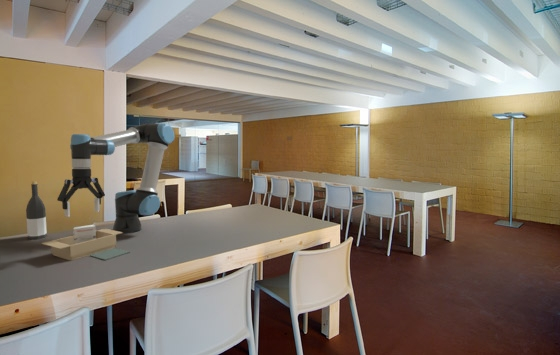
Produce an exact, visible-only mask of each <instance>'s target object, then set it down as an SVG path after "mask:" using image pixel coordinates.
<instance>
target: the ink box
mask: <svg viewBox="0 0 560 355" xmlns="http://www.w3.org/2000/svg"><path fill="white" fill-rule="evenodd" d="M96 230H97V229H96V225H95V224H89V225H81V226H73V227H72V231H73V232H72V233H73V235H72V236H74V244H78V243H81V242H85V241H89V240H93V239H96Z"/></svg>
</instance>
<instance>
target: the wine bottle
mask: <svg viewBox="0 0 560 355" xmlns="http://www.w3.org/2000/svg"><path fill="white" fill-rule="evenodd" d="M30 187H31V197H30V198H29V200H28V202H27V204H26V209H25V213H26V214H25V215H26V217H25V218H26V231H27V238H28V239H29V240H40V239H44V238H46V237H47V214H46V206H45V203H44V201H43V200H42V199H41V197H40V196H39V192H38V191H39V190H38V188H39V187H38V181H36V180H35V181H34V180H33V181H31V186H30Z"/></svg>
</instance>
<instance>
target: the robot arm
mask: <svg viewBox="0 0 560 355" xmlns="http://www.w3.org/2000/svg"><path fill="white" fill-rule="evenodd" d="M70 136H71V137H70V144H69V147H70V148H69V149H70V150H71V151H70V152H71V153H70V154H71V168H72V169H71V177H72V179H67V178H66V179H64V184H63V187H62V188H61V190H60V193H59V195H58V196H57V200H56V201H58V202H62V204H61V206H62V210H64V217H67V218H70V217H71V213H70V212H71V207H70V206H71V204H70V203H71V202H70V201H69V200H70V199H71V198H72V196H73V195H74V194H75V193H76V192H77V190H78V191H79V189H80V190H81V189H87V190H89V191H90V193H92V195H93V196H94V199H93V200H94V201H93V202H94V213H95V212H96V213H99V212H100V207H101V206H100V205H102V198H103V197H105V196H106V195H105V192H104V190H103V188H102V187H101V185H100V182H99V178H98V177H92V169H91V167H92V158H91V157H92V156H111V155H112V154H114V152H116V151H115V149H116V147H120V146H123V145H129V144H142V143H143V144H147V146H148V150H147V154H146V158H145V162H144V163H145V164H144V167H143V172H142V177H141V180H140V185H139V187H138V188H136V190H134V189H133V190H125V191H117V192H116V193H115V194H114V196H115V198H114V204H115V220H114V224H113V226H112V230H114V231H119V232H123V233H122V234H130V233H135V232H138V231H139V232H140V231H141V230H142V229H143V228H142V223H141V220H140V217H139V215H141V216H152V215H154V214H155V213H157V212H158V210H160V209H159V208H160V206H161V200H160V197H159V196H158V194H159V193H158V191H157V186H158V181H159V177H160V171H161V167H162V164H163V163H162V162H163V158H164V154H165V151H166V150H167V149H168V148H169V144H172V143H173V141H175V131H174V129H173V127H172V126H171V125H170V124H169V123H163V122H160V123H155V122H154V123H143V124H139V125H136V126H131V127H129V128H128V129H126V130H121V131H118V132H117V131H116V132H113V133H112V132H111V133H107V134H103V135H96V136H91V135H90V134H85V133H72V134H71V135H70ZM91 183H92V184H93V185H92V184H91ZM93 186H94V187H93Z"/></svg>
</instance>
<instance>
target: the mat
mask: <svg viewBox="0 0 560 355" xmlns="http://www.w3.org/2000/svg"><path fill="white" fill-rule="evenodd" d="M129 253H131V252H130V251H129V250H124V249H120V248H117V247H115V248H112V249H108V250H105V251H102V252H98V253H95V254H91V255H89V256H90V257H93V258H97V259H99V260H101V261H109V260H111V259H113V258H114V259H115V258H118V257H120V256H123V255H127V254H129Z"/></svg>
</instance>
